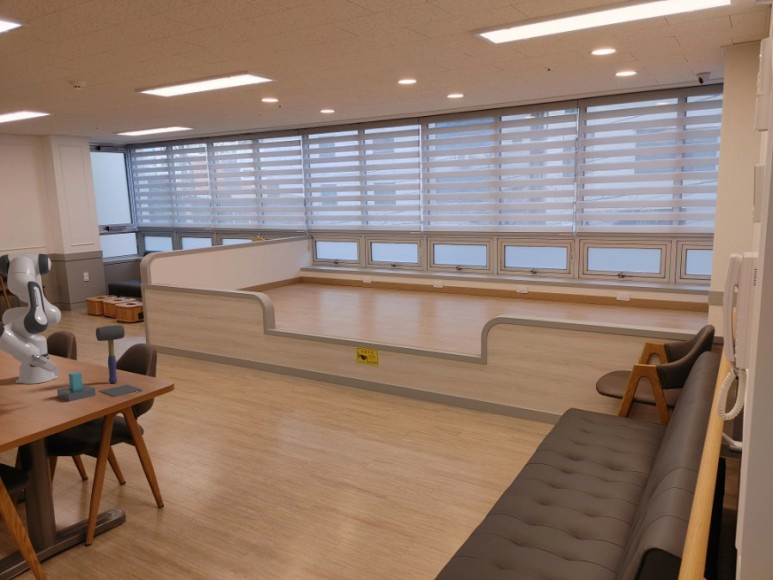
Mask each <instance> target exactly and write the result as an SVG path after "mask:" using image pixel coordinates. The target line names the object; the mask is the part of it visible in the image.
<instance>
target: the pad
mask: <svg viewBox="0 0 773 580" xmlns="http://www.w3.org/2000/svg"><path fill="white" fill-rule="evenodd" d="M141 390H142V391H143V389H142V388H139V387H136V386H133V385H131V384H123V385H120V386H115V387H111V388H107V389H106V388H105V389H101V390H99V392H100V393H102V394H105V395H108V396H110V397H113V398H115V397H119V396H124V395H128V394H132V393H135V392H136V391H140V392H142V391H141ZM136 393H137V392H136Z"/></svg>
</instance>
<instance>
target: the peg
mask: <svg viewBox="0 0 773 580" xmlns="http://www.w3.org/2000/svg"><path fill="white" fill-rule="evenodd" d="M68 380H69V381H68V383H69V387H70V390H71V391H76V390H80V389H82V384H83V377H82V372H80V371H76V372H70V373H68Z"/></svg>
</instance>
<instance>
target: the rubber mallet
mask: <svg viewBox="0 0 773 580" xmlns="http://www.w3.org/2000/svg"><path fill="white" fill-rule="evenodd" d="M95 337H96V340H97V341H98V342H107V345H108V347H107V348H108V350H107V351H108V356H107V367H108V375H109V377H108V383H114V384H116V383H117V382H118V377H117V360H116V355H115V343H114V341H115V340H121V339H124V337H125V327H124V326H123V325H122V324H119V325H118V324H117V325H116V324H115V325H106V326H100V327H96V329H95Z"/></svg>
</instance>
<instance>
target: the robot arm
mask: <svg viewBox="0 0 773 580" xmlns="http://www.w3.org/2000/svg"><path fill="white" fill-rule="evenodd" d="M51 268H52V261H51V259H50V257H49V256H48V254H45V253H29V252H28V253H27V252H25V253H14V254H3V255H1V256H0V274H1V276H3V277H7V279H6V280H7V281H6V283H7V288H8V290H9V291H10V293H11V294H13V295H14V296H17V298H18V299H19V300H20V301H22V302H23V303H27V304H28V305H27V306H21V307H20V306H19V307H18V306H17V307H11V308H8V309H6V310H5V311H4V313H3V315H2V316H1V317H2V323H3V326H0V350H1V351H3V352H5V353H6V354H9V355H11V356H12V357H13V358H14V359H15V360H17V361H18V362H20V363H21V364H20V365H19V366H18V370H19V371H18V372H19V377H18V378H17V379H16V380H15V384H26V385H30V384H32V385H34V384H41V383H45V382H48V381H49V382H50V381H52V380H56V379H58V378H59V376H58V375H59V373H60V372H61V371H60V370H58V368H56V367H57V365H56V364H55V363H54V362H53V361H51V360H50V354H49V352H48V343H47V338H46V337H45V336H44V335H43V334H40V333H43V332H44V331H46V330H47V329H48V327H51V326H56V325H57V324H59V323H60V321H61V320H62V319H61V318H62V312H61V310H60V309H59V308H58V307H57V306H56V305H53V304H52V303H51V302H49V300H47V298H46V296H45V294H44V290H43V289H44V288H43V283H42V276H43V275H47V274H49V272H50V271H51Z"/></svg>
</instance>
